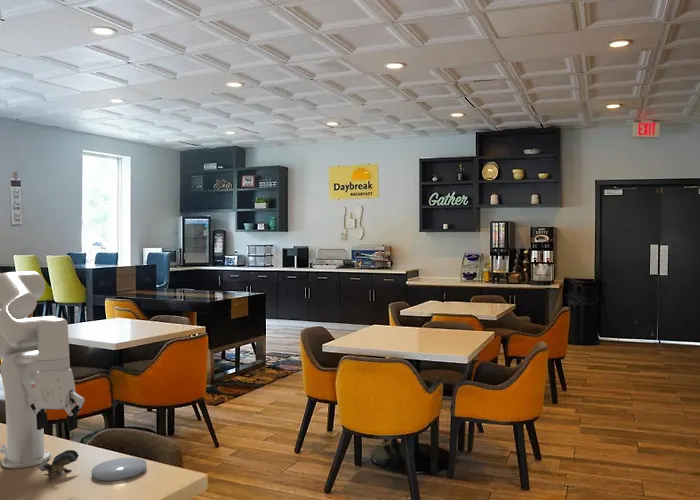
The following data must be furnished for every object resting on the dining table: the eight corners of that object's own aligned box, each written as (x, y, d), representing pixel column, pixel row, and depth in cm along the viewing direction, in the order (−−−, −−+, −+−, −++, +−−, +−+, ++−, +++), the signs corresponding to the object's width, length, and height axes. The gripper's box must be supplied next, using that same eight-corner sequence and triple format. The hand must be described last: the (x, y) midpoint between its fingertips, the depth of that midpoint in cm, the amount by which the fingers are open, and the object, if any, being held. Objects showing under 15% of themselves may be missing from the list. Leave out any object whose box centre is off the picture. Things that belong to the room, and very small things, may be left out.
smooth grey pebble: (80, 480, 164) (79, 474, 164) (114, 461, 178) (113, 456, 178) (125, 484, 160) (125, 478, 160) (156, 465, 174) (156, 459, 174)
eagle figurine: (68, 478, 163) (85, 460, 172) (51, 457, 162) (69, 440, 171) (47, 492, 164) (65, 473, 173) (30, 472, 163) (49, 454, 172)
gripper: (16, 367, 164) (19, 432, 164) (71, 368, 159) (74, 434, 159) (38, 362, 171) (41, 423, 171) (91, 362, 167) (94, 426, 167)
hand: (57, 429), depth 165 cm, fingers open, 9 cm apart
